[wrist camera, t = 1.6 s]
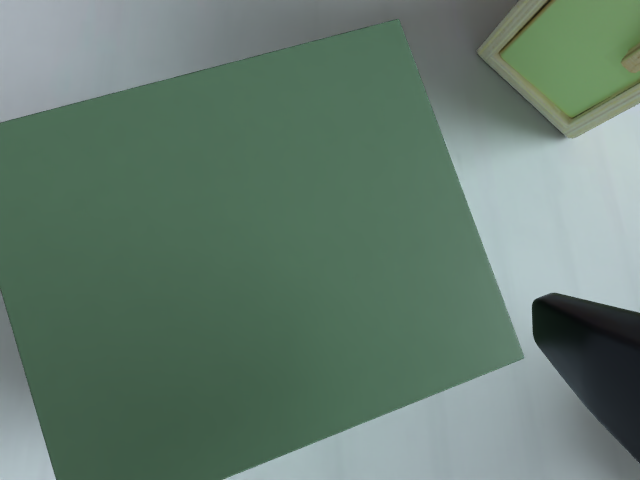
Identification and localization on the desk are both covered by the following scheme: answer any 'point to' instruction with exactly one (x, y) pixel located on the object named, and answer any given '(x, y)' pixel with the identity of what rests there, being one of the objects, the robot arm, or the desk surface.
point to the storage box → (241, 261)
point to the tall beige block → (570, 58)
